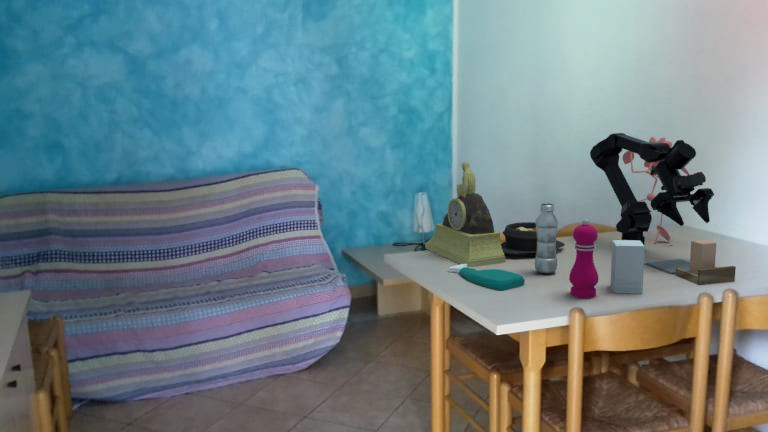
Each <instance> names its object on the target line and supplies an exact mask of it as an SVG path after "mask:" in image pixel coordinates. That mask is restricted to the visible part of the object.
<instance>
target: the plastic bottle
mask: <svg viewBox="0 0 768 432" xmlns="http://www.w3.org/2000/svg"><path fill="white" fill-rule="evenodd" d="M554 206H555V204H554V203H550V202H547V203H546V202H544V203H543V202H542V203H541V204H540V209H539V211H540V214H539V215H538V216H537V218H536V219H535V222H534V223H535V224H536V233H537V251H536V255H535V259H534V263H533V265H534V269H535V270H536V272H537V273H541V274H553V273H555V272H556V270H557V269H558V268H557V267H558V257H557V250H556V240H557V234H558V228H559V220H558V219H557V217H556V215H555V213H554V211H555V209H554Z"/></svg>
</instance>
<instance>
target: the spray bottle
mask: <svg viewBox="0 0 768 432" xmlns="http://www.w3.org/2000/svg"><path fill="white" fill-rule="evenodd" d="M448 272H449V273H456V274H459V275H461V277H464V278H465V279H466V280H468V281H469V282H471V283H473V284H475V285H476V284H477V285H479V286H482V287H484V288H489V289H492V290H495V291H496V290H497V291H503V292H504V291H508V290H512V289H515V288H520V287H522V286H524V285H525V278H524V276H523V275H521V274H519V273H515V272H513V271H509V270H504V269H499V268H492V269H491V268H490V269H480V270H479V269H476V267H467V264H457V265H453V266H450V267H448Z"/></svg>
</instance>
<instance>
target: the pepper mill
mask: <svg viewBox="0 0 768 432" xmlns="http://www.w3.org/2000/svg"><path fill="white" fill-rule="evenodd" d="M581 223H582V224H579V225H577V226H576V227H575V228H574V229H573V231H572V232H573V233H572V239H574V240H575V243H574V250H576V251H575V252H576V255H575V257H576V258H575V260H574V263H573V265H572V268H571V270H570V273H569V278H568V279H569V282H570V284H571V285H572V286H571V287H570V295H571V296H572V297H573V298H574V297H575V298H577V299H592V298H595V297H596V296H597V288H596V287H595V286H597V284H598V283H599V273H598V270H597V268H596V266H595V263H594V251H595V250H596V244H595V242H596V241H597V239H598V230H597V229H596V227H595V226H593V225H590V220H589V219H588V218H583V219H582V220H581ZM574 240H573V241H574Z"/></svg>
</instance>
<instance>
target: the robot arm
mask: <svg viewBox="0 0 768 432" xmlns="http://www.w3.org/2000/svg"><path fill="white" fill-rule="evenodd" d="M623 150H625V151H631V152H634V154H637V155H638V156H639V158H640V159H642V160H643V161H644V162H645V161H646V162H648V163H653V162H659V163H658V164H657V165H656V166H652V170H651V173H650V174H651V175H657V176H658V177H659V178H658V177H657V178H658V179H659V181H660V183H661V184H662V186H661V187H660V189H661V191H660V192H658V193H657V195H655V197H654V198H653V199H652V200H651V201H650V207H651V209H652V210H653V211H657V212H658V213H661V215H662V214H663V215H664V216H666V217H667V218H669V219H670V220H672V221H673V222H675V223H676V224H678V225H679V226H680V227H683V226H684V225H685V221H684V220H683V219H684V218H682V215H681V214H680V212H679V210H678V206H677V203H684V202H685V203H686V202H689V203H690V205H691V206H693V207H691V208H692V209H693V210H694V211H695V213H697V215H698V216H699V217H700V218H701V219H702V220H703V221H704V222H705V223H706V224H708V223H709V222H710V221H711V220H710V213H709V212H710V211H709V202H710V200H712V198H713V197H714V196H715V193H714V192H713V191H714V190H712V188H709V187H705V188H703V187H702V188H698V189H697V190H696V191H694V190H695V187H698V186H699V187H700V186H703V185H704V183H705V182H706V181H707V180H706V175H705V174H704V172H702V171H697V172H694V173H693V174H690V175H687V174H686V175H681V173H680V171H681V169H683V168H684V167H685V168H686V166H687V165H688V164H690V163H691V161H692V160H694V158H695V157H696V156H697V152H696V149H695V147H693V146H692V145H690V144H689V143H687V142H685V141H684V139H679V140H678V139H677V140H676V141H675V143H674V144H672V146H671V147H669V145H668V144H667V143H661V142H649V141H646V140H643V139H640V138H638V137H634V136H630V135H627V134H625V133H623V132H617V133H616V132H615V133H611V134H609V135H608V136H607V137H606V138H604V139H603V140H600V141H599V142H597V143H596V144H595V145H594V146H592V148H591V150H590V152H589V156H590V158H591V161H592V162H593V163H594V165H595V167H596V168H597V167H598V169H601V170H602V171H603V172H604V174H605V176H606V178H607V180H608V182H609V185H610V186H611V188H612V190H613V192H614V194H615V196H616V198H617V201H618V202H619V204H620V206H621V210H620V217H621V219H620V220H618V222H617V223H616V224H615V228H616V232H618V233H620V234H621V237H620V238H621V239H620V240H640V241H641V242H642V243H643V245H644V246H646V245H645V243H646V237H645V235H644V233H649V229H650V226H651V222H652V214H651V212H652V210H651V209H650V208H649V207H648V203H647V202H646V200H644V201H641V202H639V201H640V200H637V198H636V196H635V194H634V193H633V190H632V188H631V187H630V184H629V183H628V181H627V179H626V176H625V174H624V173H623V171H622V169H621V167H620V165H619V163H620V162H619V161H620V154H621V153H622V152H623ZM679 170H680V171H679ZM651 175H650V176H651ZM693 191H694V193H691V192H693Z"/></svg>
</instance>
